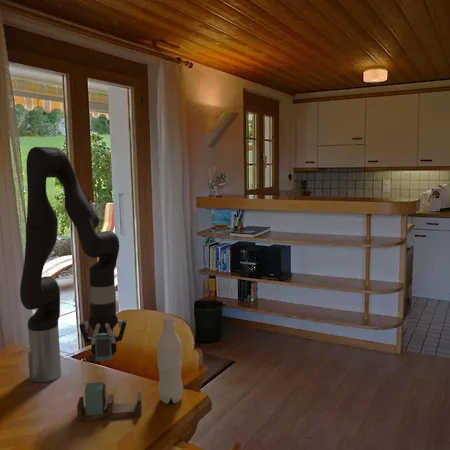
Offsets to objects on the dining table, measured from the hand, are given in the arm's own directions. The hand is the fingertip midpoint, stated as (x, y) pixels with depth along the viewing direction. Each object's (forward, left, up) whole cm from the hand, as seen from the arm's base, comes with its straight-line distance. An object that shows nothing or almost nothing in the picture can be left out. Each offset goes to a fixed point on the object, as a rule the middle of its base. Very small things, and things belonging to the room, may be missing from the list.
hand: (104, 354), depth 141 cm
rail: (+2, -11, -13) cm, 17 cm away
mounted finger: (-2, -11, -12) cm, 16 cm away
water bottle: (+19, -6, -13) cm, 24 cm away
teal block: (0, 0, -1) cm, 1 cm away
